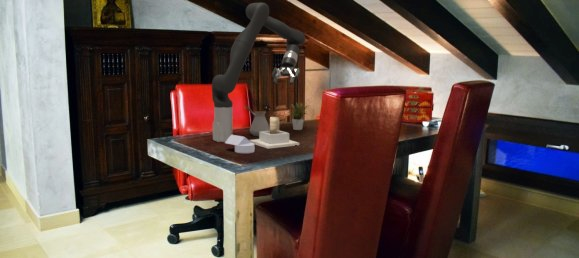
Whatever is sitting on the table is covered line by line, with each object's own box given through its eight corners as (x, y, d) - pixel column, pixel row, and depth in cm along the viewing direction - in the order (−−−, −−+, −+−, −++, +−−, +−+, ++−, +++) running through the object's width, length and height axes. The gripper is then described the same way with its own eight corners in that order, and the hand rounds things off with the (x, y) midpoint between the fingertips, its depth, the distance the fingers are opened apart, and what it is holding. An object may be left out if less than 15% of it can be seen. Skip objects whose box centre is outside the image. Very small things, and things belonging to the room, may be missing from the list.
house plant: (310, 131, 284) (311, 103, 282) (286, 131, 285) (287, 102, 282) (310, 127, 298) (310, 100, 296) (287, 127, 299) (287, 100, 296)
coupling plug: (271, 142, 243) (271, 118, 241) (266, 140, 247) (266, 117, 245) (281, 141, 246) (282, 117, 244) (277, 140, 250) (277, 116, 248)
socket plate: (267, 148, 234) (267, 136, 233) (249, 142, 249) (249, 131, 248) (299, 145, 244) (299, 133, 243) (279, 139, 259) (279, 128, 258)
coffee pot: (274, 135, 269) (274, 108, 267) (256, 137, 263) (257, 109, 260) (253, 130, 286) (253, 104, 284) (236, 132, 279) (236, 105, 277)
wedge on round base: (224, 150, 229) (245, 154, 221) (224, 135, 228) (245, 139, 220) (237, 147, 236) (258, 151, 228) (238, 133, 235) (258, 136, 227)
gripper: (275, 55, 268) (268, 78, 259) (301, 56, 264) (294, 79, 255) (278, 65, 274) (271, 87, 265) (303, 66, 270) (297, 88, 261)
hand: (282, 83), depth 260 cm, fingers open, 8 cm apart
